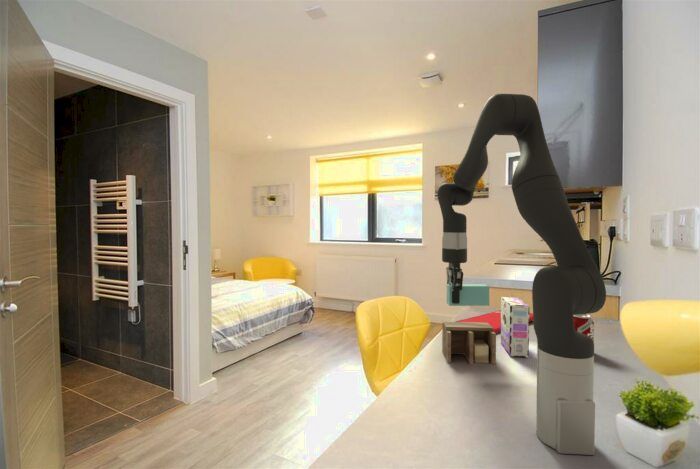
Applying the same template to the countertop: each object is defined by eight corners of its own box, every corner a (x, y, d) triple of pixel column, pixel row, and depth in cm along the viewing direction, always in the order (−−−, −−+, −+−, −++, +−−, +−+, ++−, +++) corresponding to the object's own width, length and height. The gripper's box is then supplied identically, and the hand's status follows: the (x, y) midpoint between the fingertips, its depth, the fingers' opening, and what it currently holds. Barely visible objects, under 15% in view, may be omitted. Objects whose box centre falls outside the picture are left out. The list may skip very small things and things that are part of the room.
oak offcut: (488, 362, 106) (488, 346, 106) (474, 362, 107) (474, 345, 107) (482, 355, 112) (482, 339, 112) (469, 355, 113) (469, 339, 113)
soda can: (569, 353, 114) (570, 316, 113) (567, 347, 120) (568, 311, 119) (594, 357, 111) (595, 318, 110) (591, 350, 117) (592, 314, 116)
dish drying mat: (445, 330, 142) (445, 320, 142) (503, 315, 165) (504, 307, 165) (479, 340, 129) (479, 330, 129) (538, 322, 152) (538, 314, 152)
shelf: (495, 364, 105) (496, 330, 105) (447, 362, 106) (447, 329, 106) (486, 353, 114) (487, 322, 114) (442, 352, 115) (442, 321, 115)
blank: (449, 305, 109) (449, 286, 109) (446, 302, 113) (446, 284, 113) (489, 305, 109) (489, 286, 109) (485, 302, 113) (485, 284, 113)
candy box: (529, 358, 110) (530, 305, 109) (509, 357, 111) (509, 304, 110) (517, 344, 123) (518, 296, 123) (499, 342, 124) (500, 296, 124)
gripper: (438, 245, 118) (438, 297, 119) (446, 248, 104) (446, 306, 104) (461, 245, 118) (461, 297, 118) (472, 248, 103) (472, 307, 104)
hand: (454, 301), depth 111 cm, fingers closed on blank, 4 cm apart
